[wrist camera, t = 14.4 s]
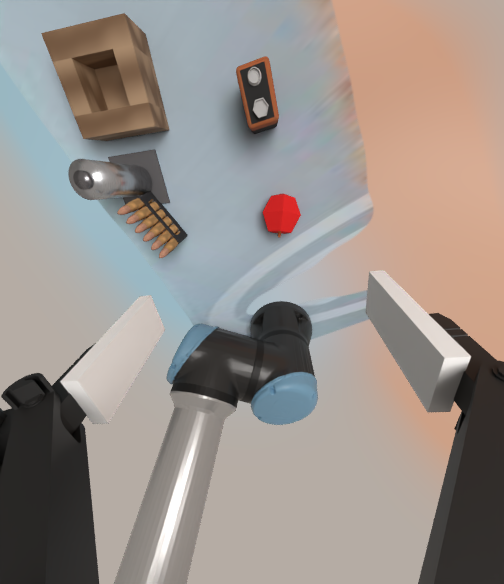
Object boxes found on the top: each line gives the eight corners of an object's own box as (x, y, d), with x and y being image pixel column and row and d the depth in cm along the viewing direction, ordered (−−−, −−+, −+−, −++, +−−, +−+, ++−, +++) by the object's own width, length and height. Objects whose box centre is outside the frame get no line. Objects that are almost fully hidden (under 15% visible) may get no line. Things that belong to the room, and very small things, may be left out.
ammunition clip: (143, 196, 47) (109, 211, 37) (150, 190, 46) (116, 204, 36) (181, 239, 51) (160, 264, 41) (187, 235, 51) (167, 259, 40)
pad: (169, 202, 48) (169, 202, 47) (127, 207, 49) (126, 208, 48) (155, 149, 43) (154, 149, 43) (109, 157, 44) (108, 157, 44)
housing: (169, 130, 42) (155, 126, 36) (106, 140, 43) (83, 138, 38) (145, 34, 36) (124, 13, 31) (73, 50, 37) (41, 33, 32)
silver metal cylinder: (155, 193, 46) (104, 197, 33) (131, 197, 47) (73, 202, 34) (147, 163, 44) (90, 155, 31) (122, 167, 45) (57, 161, 32)
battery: (252, 134, 41) (248, 128, 32) (241, 85, 38) (233, 64, 29) (277, 126, 40) (279, 118, 32) (268, 75, 37) (268, 50, 29)
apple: (268, 185, 40) (264, 234, 41) (307, 191, 41) (301, 238, 42) (260, 195, 47) (256, 236, 48) (293, 199, 48) (289, 240, 49)
